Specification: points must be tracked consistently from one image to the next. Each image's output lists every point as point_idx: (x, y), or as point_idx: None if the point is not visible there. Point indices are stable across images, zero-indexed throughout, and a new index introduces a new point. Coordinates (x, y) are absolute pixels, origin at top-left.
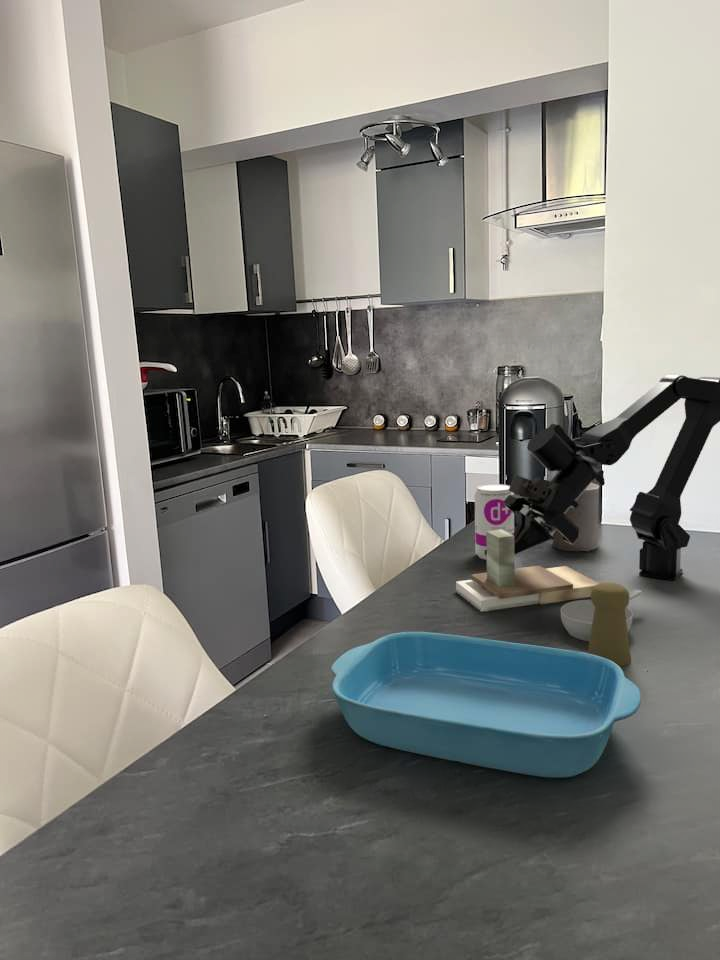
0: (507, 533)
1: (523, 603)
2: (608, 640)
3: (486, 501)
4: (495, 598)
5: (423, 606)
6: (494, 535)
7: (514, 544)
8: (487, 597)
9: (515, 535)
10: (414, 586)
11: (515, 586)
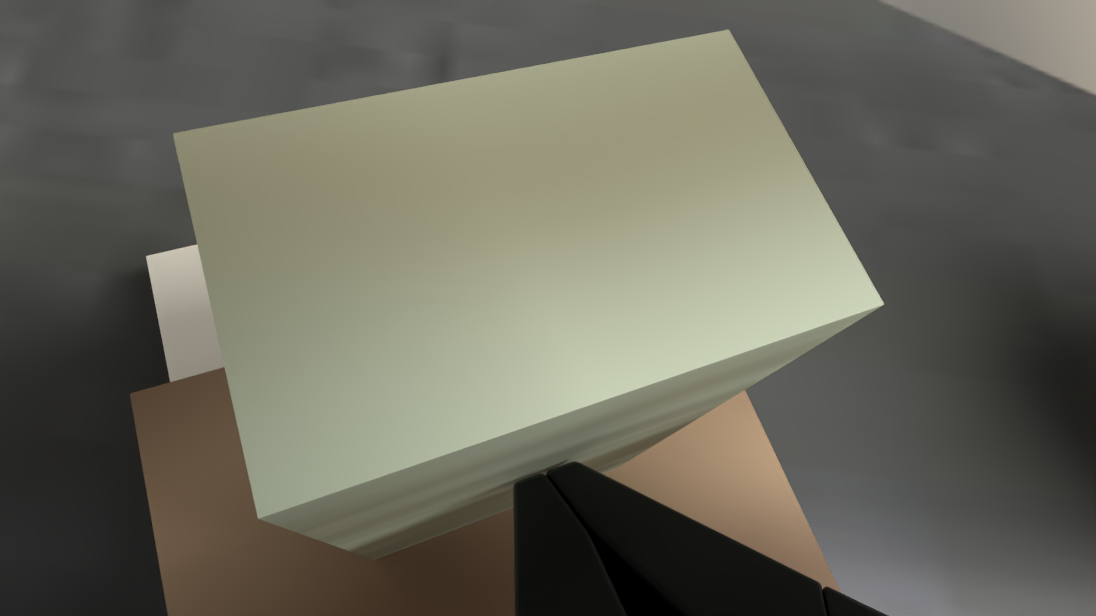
0: (526, 376)
1: None
2: None
3: None
4: (172, 368)
5: (347, 8)
6: (391, 95)
7: (531, 567)
8: (208, 311)
9: (738, 612)
10: (676, 7)
11: (333, 564)
